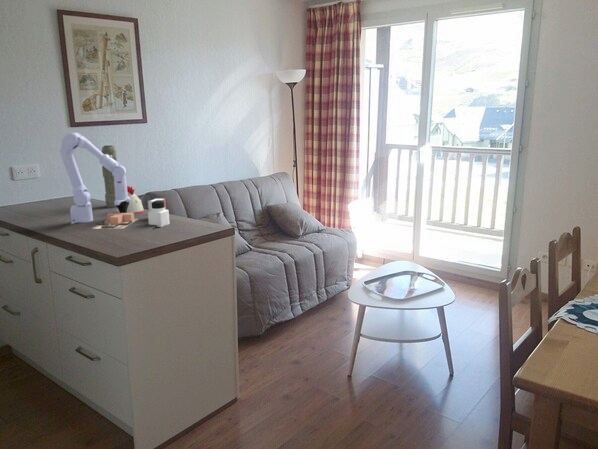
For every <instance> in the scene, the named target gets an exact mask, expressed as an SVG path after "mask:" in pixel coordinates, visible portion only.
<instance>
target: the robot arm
mask: <svg viewBox="0 0 598 449" xmlns="http://www.w3.org/2000/svg"><path fill="white" fill-rule="evenodd" d="M77 148H80V149H81V148H83V149H85V150H87V151H88V152H89V153H90V154H92V155H93V156H95V157H96V158H97V159H98V160H99V161H98V162H99V165H101V166H104V167H105V168H106V169H108V170H109V171H110V172H112V175H113V176H114V185H115V195H116V199H115V201H114V204H115V205H116V206H117V207H116V209H117V208H118V210H119V212H120V213H127V208H128V205H129V202H126V201H127V200H130V198H129V196H128V193H127V186H128V185H127V183H128V182H127V176H126V174H127V169H126V167H125V166H124V165H122V164H121V162H118V161H117V160H116V161H117V162H116V161H115V160H114V159H113V158H112V156H111V155H110V156H109V155H108V154H103V153H102V150H100V149H99V148H97V146H95V145H94V144H93V143H92V142H91V141H90V140H89V139H88V138H87V137H85V136H83V135H82V134H81V133H80V132H77V131H76V132H68V133H66V134H65V135H64V136H63V138H62V139H61V145H60V151H59V154H60V156H61V158H62V161H63V162H62V163H63V164H64V167H65V170H66V173H67V175H68V178H69V180H70V184H71V186H72V193H73V194H72V195H73V197H72V198H73V203H74V204H75V205H71V206H70V210H69V213H70V221H71V223H70V225H74V224H76V223H89V222H93V221H94V216H93V207H92V203H91V200H92V194H91V192H90V191H89V190H88V188H87V186H86V185H85V184H84V181H83V179H82V175H81V173H80V170H79V167H78V163H77V162H76V159H75V157H74V152H75V150H76V149H77Z"/></svg>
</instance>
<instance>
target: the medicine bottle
mask: <svg viewBox="0 0 598 449" xmlns="http://www.w3.org/2000/svg"><path fill="white" fill-rule="evenodd" d="M151 208H152V211H149V210H148V211H147V219H148V225H149V226H150V225H152V226H153V225H154V227H156V228H163V227H165V226H168V225H170V223H171V222H170V221H171V220H170V212H169V209H166V210H164V209H165V206H164V201H162V200H155V201H152V202H151Z"/></svg>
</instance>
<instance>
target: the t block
mask: <svg viewBox="0 0 598 449" xmlns="http://www.w3.org/2000/svg"><path fill="white" fill-rule="evenodd" d="M134 219H135V214H134V213H117V212H109V213H107V214H106V220H107V222H110V224H118V223H122V222H130V221H133V220H134Z"/></svg>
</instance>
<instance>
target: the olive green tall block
mask: <svg viewBox="0 0 598 449" xmlns="http://www.w3.org/2000/svg"><path fill="white" fill-rule="evenodd" d="M101 152H102V153H103V154H108V155H109V156H110V155H111V156H112V158H113V159H114V160H115V161H116V162H118V161H117V150H116V148H115V146H113V145H103V146H102V149H101ZM101 170H102V171H101V172H102V177H103V180H104V189H105V193H104V194H105V195H104V199H105V200H104V201H105V205H106V208H108V209H113V208H116V209H117V206H116V205H115V204H114V201H115V199H116V195H115V185H114V176H113V175H112V172H110V171H109V170H108V169H106V168H105V167H104V166H103V165H101Z"/></svg>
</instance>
